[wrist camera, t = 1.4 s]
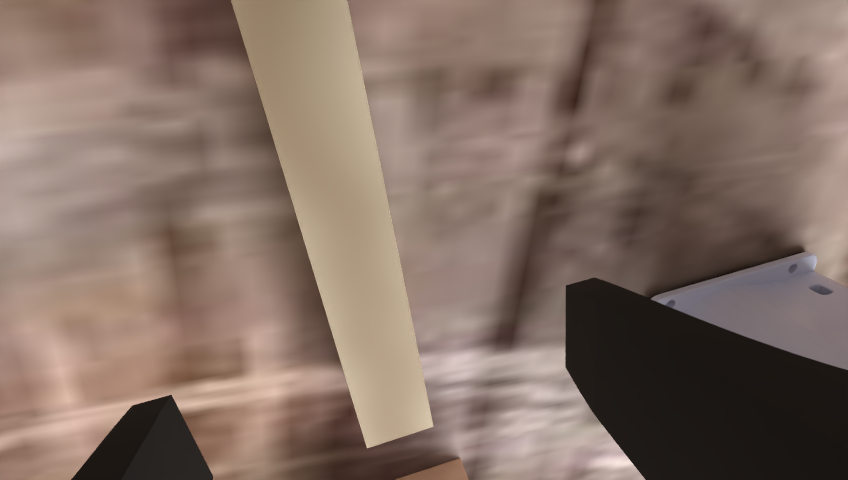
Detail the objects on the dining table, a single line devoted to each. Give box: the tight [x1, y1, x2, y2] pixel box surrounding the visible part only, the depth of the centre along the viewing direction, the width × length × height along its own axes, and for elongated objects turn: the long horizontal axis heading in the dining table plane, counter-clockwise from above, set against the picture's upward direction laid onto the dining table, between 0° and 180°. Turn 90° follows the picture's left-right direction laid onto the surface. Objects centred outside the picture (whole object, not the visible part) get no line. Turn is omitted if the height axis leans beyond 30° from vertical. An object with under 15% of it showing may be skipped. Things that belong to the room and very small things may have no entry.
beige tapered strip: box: [231, 0, 433, 448], centre depth 16 cm, size 2×16×4 cm, turn 9°
